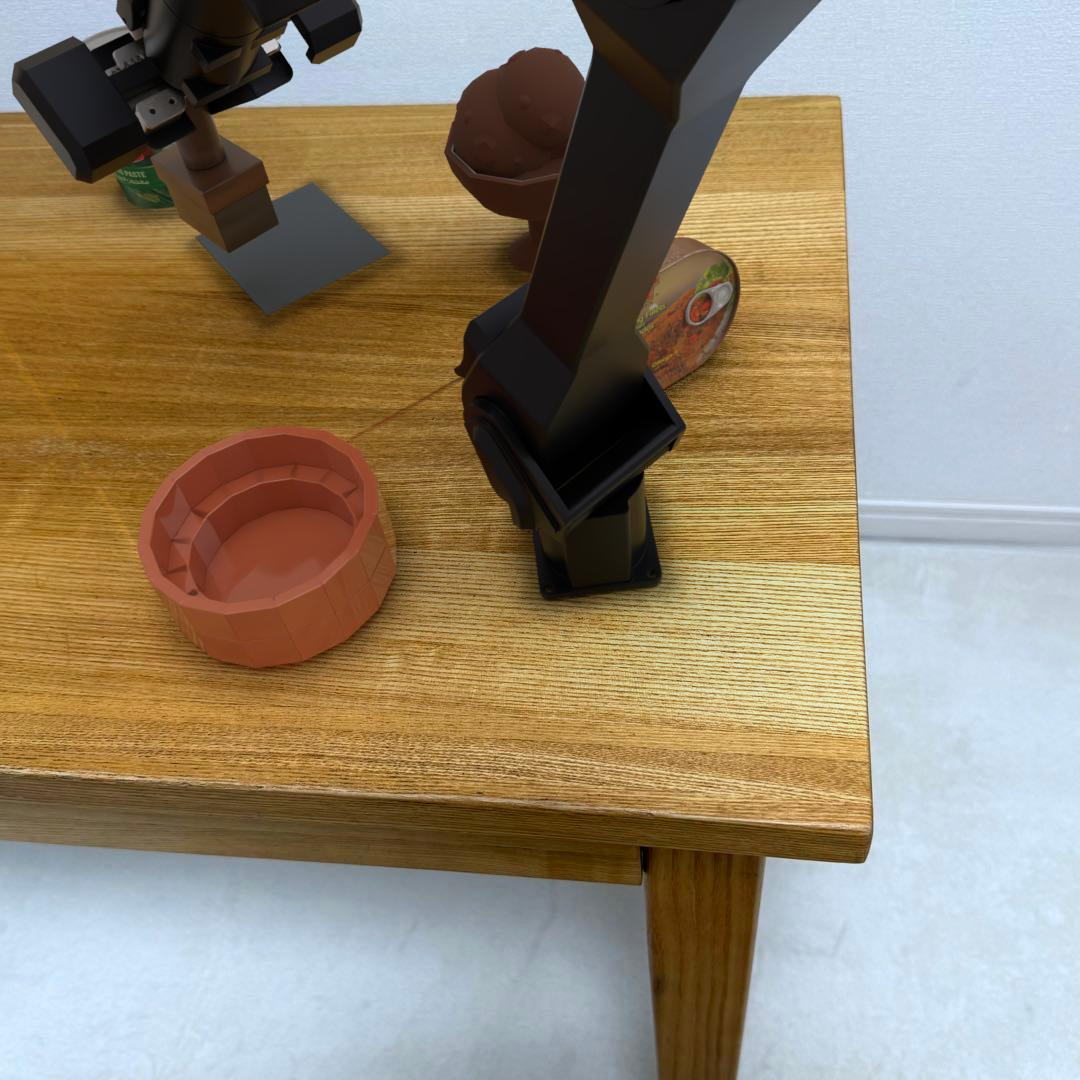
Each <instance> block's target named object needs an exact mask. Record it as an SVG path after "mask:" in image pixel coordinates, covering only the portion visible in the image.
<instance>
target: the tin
mask: <svg viewBox="0 0 1080 1080" xmlns="http://www.w3.org/2000/svg"><path fill="white" fill-rule="evenodd" d="M740 276H741V275H740V272H739V269H738V267H737V265H736V263H735V261H734V260H733V259H732V257H730V256H729V255H728V254H727V253H725V252H723V251H721V250H720V249H719V250H718V249H715V248H713V247H711V246H709V245H708V244H706V243H704V242H702V241H700V240H698V239H696V238H692V237H685V236H684V237H683V236H679V237H675V238H674V240H673V243H672V245H671V247H670V249H669V251H668V253H667V256H666V258H665V260H664V262H663V264H662V266H661V269H660V271H659V273H658V275H657V277H656V280H655V282H654V284H653V286H652V288H651V290H650V293H649V295H648V297H647V299H646V301H645V304H644V306H643V308H642V310H641V312H640V314H639V317H638V319H637V321H636V325H635V326H636V328H637V329H638V331H639V332H640V334H641V335H642V337H643V338H644V339H645V341H646V342H647V344H648V345H649V356H648V360H647V365H648V367H649V368H650V370H651V371H652V373H653V374H654V376H655V378H656V379H657V381H658V382H659V384H660V385H661V387H662V388H663V390H665V389H666V388H668V387H670V386H671V385H673V384H675V383H677V382H678V381H679V380H682V379H683V378H685V377H686V376H688V375H689V374H691V373H693V372H694V371H696V370H697V369H698V368H699V367H701V366H703V364H704V363H706V361H708V360H709V358H711V356H712V355H713V354H714V353H715V352H716V350H718V348H719V347H720V346H721V344H722V342H723V341H724V340H725V338H726V336H727V334H728V332H729V331H730V329H731V327H732V325H733V322H734V319H735V318H736V314H737V311H738V307H739V303H740V298H741V291H742V290H741V289H742V288H741V278H740Z"/></svg>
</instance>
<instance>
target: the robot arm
mask: <svg viewBox="0 0 1080 1080" xmlns="http://www.w3.org/2000/svg"><path fill="white" fill-rule="evenodd" d="M571 1H572V4H573V6H574V8H575V10H576V13H577V16H578V17H579V19H580V22H581V24H582V26H583V28H584V30H585V32H586V34H587V36H588V39H589V41H590V43H591V45H592V52H591V59H590V63H589V66H588V70H587V74H586V76H585V83H584V87H583V91H582V94H581V98H580V101H579V105H578V109H577V112H576V116H575V119H574V123H573V127H572V130H571V134H570V137H569V141H568V145H567V148H566V152H565V155H564V159H563V163H562V166H561V170H560V173H559V177H558V180H557V184H556V188H555V191H554V195H553V198H552V202H551V206H550V209H549V213H548V216H547V220H546V224H545V227H544V231H543V234H542V238H541V242H540V245H539V249H538V252H537V256H536V259H535V263H534V267H533V270H532V273H530V278H529V280H528V281H527V282H525V283H523V284H522V285H521V286H519V287H517V288H516V289H515V290H514V291H512V292H510V293H509V294H507V295H506V296H505V297H503V298H501V299H500V300H499V301H497V302H496V303H494V304H493V305H491V306H490V307H489V308H487V309H485V310H484V311H483V312H481V313H480V314H478V315H476V316H475V317H474V318H473V319H471V320H469V322H468V324H467V327H466V328H465V331H464V334H463V336H462V337H463V338H462V342H463V343H462V347H463V349H462V351H463V353H462V360H461V362H460V364H458V365H457V366H456V367H454V368H453V371H454V373H455V375H456V376H459V377H460V378H462V380H463V381H462V383H461V389H460V390H461V402H462V407H463V408H462V409H463V411H462V419H463V426H464V429H465V431H466V433H467V436H468V437H469V439H470V442H471V444H472V446H473V448H474V451H475V454H476V456H477V458H478V460H479V462H480V464H481V467H482V469H483V471H484V473H485V475H486V477H487V481H488V482H489V484H490V486H491V488H492V489H493V490H494V493H495V495H496V496H497V497H498V498H499V499H501V500H502V501H504V502H505V503H506V504H507V505H508V507H509V513H510V516H511V522H512V525H514V527H517V528H518V529H519V530H520V531H531V532H532V540H533V549H534V556H535V564H536V572H537V580H538V588H539V595H540V597H541V598H542V599H543V600H545V601H554V600H561V599H568V598H569V599H570V598H576V597H583V596H589V595H590V596H591V595H597V594H604V593H610V592H618V591H619V592H620V591H626V590H632V589H639V588H646V587H647V588H648V587H652V586H653V587H654V586H657V585H659V584H660V583H662V581H663V570H662V566H661V562H660V561H661V560H660V556H659V552H658V547H657V542H656V538H655V534H654V529H653V524H652V520H651V515H650V510H649V507H648V506H649V505H648V501H647V497H646V483H645V482H646V481H645V480H646V479H645V477H646V476H645V471H646V470H647V469H648V468H649V467H651V466H652V465H654V463H656V462H657V461H658V460H659V459H661V457H663V456H664V455H666V454H667V453H669V452H671V451H673V450H674V449H675V448H677V447H678V446H679V444H680V442H681V440H682V438H683V436H684V435H685V432H686V430H687V425H686V422H685V421H684V419H683V418H682V416H681V414H680V413H679V412H678V410H677V408H676V407H675V405H674V404H673V402H672V401H671V399H670V397H669V396H668V395H667V393H666V392H665V389H663V388H662V387H661V385H660V384H659V382H658V381H657V379H656V378H655V376H654V374H653V373H652V371H651V370H650V368H649V367H648V365H647V360H648V356H649V345H648V344H647V342H646V341H645V339H644V338H643V337H642V335H641V334H640V332H639V331H638V329H637V328H636V326H635V325H636V321H637V319H638V317H639V314H640V312H641V310H642V308H643V306H644V304H645V301H646V299H647V297H648V295H649V293H650V290H651V288H652V286H653V284H654V282H655V280H656V277H657V275H658V273H659V271H660V269H661V266H662V264H663V262H664V260H665V258H666V256H667V253H668V251H669V249H670V247H671V245H672V243H673V240H674V238H676V236H677V234H678V232H679V229H680V227H681V225H682V223H683V221H684V219H685V216H686V214H687V212H688V209H689V208H690V205H691V203H692V201H693V199H694V198H695V197H694V196H695V194H696V192H697V190H698V188H699V186H700V185H701V181H702V179H703V177H704V175H705V173H706V171H707V169H708V166H709V164H710V162H711V159H712V158H713V156H714V153H715V151H716V149H717V146H718V145H719V142H720V140H721V138H722V135H723V134H724V131H725V129H726V127H727V124H728V123H729V121H730V118H731V116H732V113H733V112H734V109H735V108H736V106H737V103H738V101H739V100H740V96H741V95H742V92H743V90H744V88H745V86H746V84H747V82H748V81H749V79H750V78H751V77H752V75H753V74H754V73H755V72H756V71H757V69H758V68H759V67H761V65H762V64H763V63H764V62H765V61H766V60H767V59H768V57H770V55H771V54H773V53H774V51H775V50H777V48H778V47H779V46H780V45H781V44H782V43H783V42H784V41H785V40H786V39H787V38H788V37H789V36H790V35H791V33H793V32H794V30H795V29H796V28H797V27H798V26H799V25H800V24H801V23H802V22H803V21H804V20H805V19H806V18H807V17H808V16H809V15H810V13H812V12H813V10H814V9H815V8H816V7H817V6H818V5H819V4H820V3H821V2H822V1H823V0H571ZM115 12H116V13H117V15H118V17H119V18H120V19H121V20H122V22H123V23H124V26H125V25H126V26H127V28H128V29H129V30H130V31H131V32H133V31H135V30H137V29H140V31H141V32H142V34H143V35H144V37H142V38H140V39H138V40H136V41H135V39H134V38H133V37H132V35H131V34H130V33H126V34H124V35H122V36H120V37H118V38H116V39H114V40H112V41H109V42H107V43H105V44H103V45H101V46H99V47H97V48H95V49H93V50H91V51H90V50H89V48H88V47H87V46H86V44H85V43H84V42H82V41H83V40H80V39H79V38H78V37H75V36H74V35H72V36H70V37H67V38H66V39H63V40H61V41H59V42H57V43H55V44H52V45H51V46H48V47H46V48H44V49H41V50H39V51H37V52H35V53H33V54H31V55H29V56H26V57H25V58H22V59H20V60H18V61H16V62H14V63H13V69H12V75H11V89H12V92H11V93H12V95H13V98H15V99H16V101H17V102H18V104H19V105H20V107H21V108H22V110H23V111H24V112H25V113H26V115H27V116H28V117H29V119H30V120H31V122H32V123H33V124H34V125H35V127H36V128H37V129H38V131H39V133H40V134H41V135H42V136H43V138H44V139H45V141H46V142H47V143H48V145H49V146H50V147H51V148H52V150H53V151H54V153H55V154H56V155H57V157H58V158H59V159H60V161H61V162H62V163H63V165H64V166H65V168H66V169H67V171H68V172H69V173H70V174H71V176H72V177H73V179H74V180H75V181H78V182H82V183H86V184H90V185H93V184H95V183H96V182H99V181H101V180H102V179H104V178H106V177H108V176H110V175H112V174H114V172H116V171H118V170H119V169H121V168H123V167H125V166H127V165H129V164H131V163H133V162H134V161H135V160H136V159H137V158H138V157H140V156H141V155H142V154H143V153H144V152H145V151H146V150H147V148H148V149H151V150H155V151H156V150H160V149H163V148H165V147H166V146H168V145H170V144H172V143H174V142H176V141H178V140H180V139H182V138H184V137H185V136H187V135H189V134H191V133H193V132H195V131H197V128H196V126H195V125H194V123H193V122H192V121H191V119H190V118H189V116H188V115H187V113H186V112H185V111H184V110H185V106H186V102H185V98H186V97H187V98H188V99H189V101H190V102H191V104H192V105H193V107H194V108H195V109H198V108H200V107H202V106H204V105H206V104H207V103H208V106H209V109H210V112H211V114H212V116H213V115H216V114H219V113H222V112H224V111H227V110H231V109H233V108H235V107H238V106H241V105H245V104H247V103H249V102H252V101H256V100H257V99H259V98H261V97H263V96H266V95H267V94H269V93H271V92H273V91H276V90H277V89H279V88H281V87H282V86H284V85H286V84H288V83H290V82H291V81H292V79H293V77H294V70H293V66H292V65H291V63H290V62H289V61H288V59H287V58H286V56H285V55H284V54H283V52H282V45H281V43H280V42H279V41H278V40H281V37H282V35H285V33H286V30H287V27H288V24H289V22H291V23H292V24H293V25H294V27H295V29H296V30H297V32H298V33H299V34H300V36H301V38H302V39H303V40H304V42H305V43H306V45H307V46H308V47H307V49H306V51H305V57H306V58H307V60H308V61H309V63H310V64H311V65H321V64H323V63H324V62H327V61H329V60H331V59H332V58H334V57H336V56H338V55H340V54H343V53H344V52H346V51H348V50H350V49H351V48H353V47H355V45H356V43H357V41H358V39H359V38H360V35H361V33H362V32H363V22H364V20H363V15H362V11H361V7H360V5H359V3H358V1H357V0H116V7H115ZM650 575H655V576H653V577H652V576H650ZM549 589H550V590H551V591H547V590H549Z"/></svg>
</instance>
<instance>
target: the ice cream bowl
mask: <svg viewBox="0 0 1080 1080" xmlns="http://www.w3.org/2000/svg"><path fill="white" fill-rule="evenodd" d="M585 80H586V78H585V77H584V76H583V74H582V73H581V71H580V69H579V68H578V67H577V65H576V64H575V63H574V62H573V60H572V59H571V58H570V57H569V56H568V55H566V54H564V53H563V52H562V50H560V49H558V48H551V47H550V48H549V47H540V46H534V47H532V48H530V49H528V50H526V49H521V50H518V51H517V52H515V53H513V54H512V55H511V56H510V57H509V58H508V60H507V61H506V63H503V64H501V65H499V67H497V68H492V69H488V70H486V71H484V72H483V73H481V74H480V75H479V76H477V77H476V78H474V79H473V80H472V81H471V82H470V83H468V85H467V86H466V87H465V88H464V89H463V90H462V93H461V96H460V98H459V100H458V101H457V103H456V107H455V109H456V110H455V111H456V112H455V115H454V119H453V121H452V122H451V125H450V129H449V132H448V137H447V140H446V142H445V146H444V150H443V153H444V156H445V158H446V161H447V163H448V166H449V168H450V170H451V172H452V174H453V175H454V176H455V177H456V179H457V180H458V181H459V183H460V184H461V185H462V187H463V188H464V189H465V190H466V191H467V192H468V194H470V195H471V196H472V197H473V198H474V199H475V200H476V201H477V202H478V203H479V204H480V205H481V206H482V207H483V208H485V210H487V211H490V212H492V213H495V215H498V216H501V217H507V218H512V219H517V220H524V221H527V224H528V231H526V232H524V233H523V234H522V235H519V236H518V237H517V238H516V239H515V240H514V241H512V242H511V243H509V247H508V252H507V258H506V259H507V260H508V261H509V262H510V263H511V264H512V265H513V267H514V268H515V269H516V270H517V271H518V272H519V271H520V272H523V273H528V274H532V270H533V267H534V263H535V259H536V256H537V252H538V249H539V245H540V242H541V238H542V234H543V231H544V227H545V224H546V220H547V216H548V213H549V209H550V206H551V202H552V198H553V195H554V191H555V188H556V184H557V180H558V177H559V173H560V170H561V166H562V163H563V159H564V155H565V152H566V148H567V145H568V141H569V137H570V134H571V130H572V127H573V123H574V119H575V116H576V112H577V109H578V105H579V101H580V98H581V94H582V91H583V87H584V83H585Z"/></svg>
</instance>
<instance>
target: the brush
mask: <svg viewBox="0 0 1080 1080" xmlns="http://www.w3.org/2000/svg"><path fill="white" fill-rule="evenodd" d="M131 33H132V35H133V38H134V39H135V41H136V40H138V39H140V38H142V37H144V35H143V34H142V32H141V31H140V29H137V30H135V31H133V32H131ZM185 102H186V106H185V110H184V111H185V112H186V113H187V115H188V116H189V118H190V119H191V121H192V122H193V123H194V125H195V126H196V128H197V131H195V132H193V133H191V134H189V135H187V136H185V137H184V138H182V139H180V140H178V141H176V144H175V145H173V146H171V147H169V148H167V149H165V150H164V151H162V152H160V153H158V154H156V155H154V156H152V157H151V161H152V163H153V166H154V168H155V170H156V173H157V175H158V177H159V179H160V180H161V181H163V182H164V183H165V184H166V186H167V188H168V191H169V193H170V195H171V198H172V200H173V202H174V205H175V206H174V207H175V209H176V211H177V214H178V216H179V218H180V220H181V221H183V223H185V224H187V225H188V226H190V227H191V228H192V229H194V230H195V231H197V232H198V233H200V235H201V234H202V235H204V236H205V237H207V238H208V239H209V240H211V241H212V242H213V243H215V244H216V245H218V246H219V247H220V248H222V249H223V250H225V251H226V252H227V253H231V252H232V251H234V250H236V249H238V248H239V247H241V246H243V245H244V244H246V243H248V242H250V241H251V240H253V239H255V238H256V237H258V236H260V235H262V234H263V233H265V232H267V231H268V230H270V229H272V228H273V227H275V226H277V225H279V221H278V218H277V215H276V212H275V209H274V206H273V204H272V201H273V200H272V198H271V195H270V191H269V189H268V186H267V185H269V184H270V179H269V176H268V174H267V171H266V168H265V165H264V162H263V160H262V159H260V158H259V157H257V156H256V155H254V154H253V153H251V152H249V151H247V150H245V149H244V148H242V147H241V146H240V145H238V144H236V143H235V142H233V141H232V140H230V139H228V138H226V137H225V136H223V135H221V134H220V133H219V131H218V128H217V125H216V123H215V119H214V117H213V115H212V114H211V112H210V109H209V106H208V103H207V104H206V105H204V106H202V107H200V108H198V109H195V108H194V107H193V105H192V104H191V102H190V101H189V99H188V98H187V97H186V98H185Z"/></svg>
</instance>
